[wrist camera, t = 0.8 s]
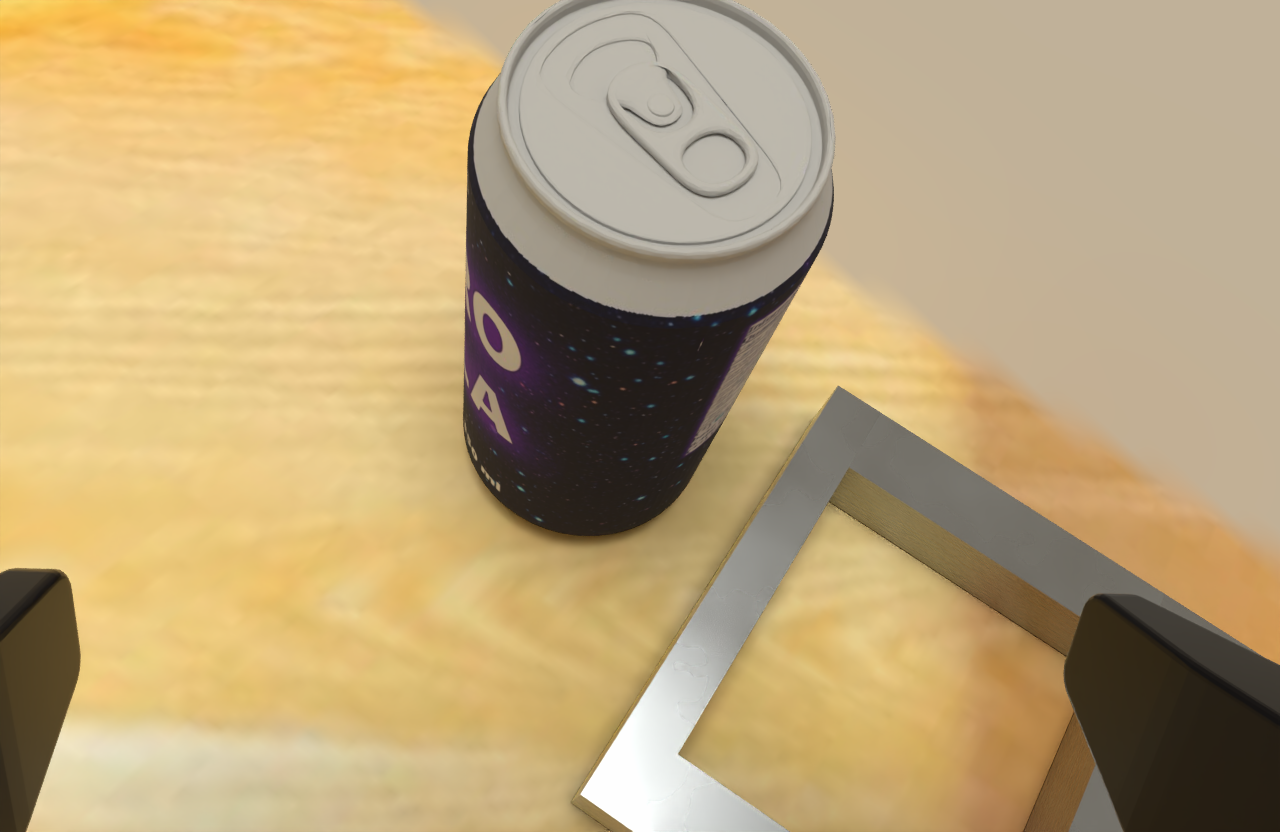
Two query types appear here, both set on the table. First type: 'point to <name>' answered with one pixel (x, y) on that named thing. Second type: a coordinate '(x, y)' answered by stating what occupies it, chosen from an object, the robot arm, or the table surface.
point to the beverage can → (631, 247)
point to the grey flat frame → (911, 519)
